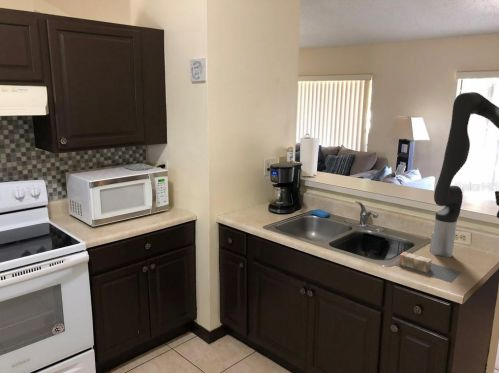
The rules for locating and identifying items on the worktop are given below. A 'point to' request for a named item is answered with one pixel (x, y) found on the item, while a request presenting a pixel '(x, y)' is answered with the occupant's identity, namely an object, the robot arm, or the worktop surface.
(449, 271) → the rubber mat
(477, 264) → the worktop surface
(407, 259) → the birch block
